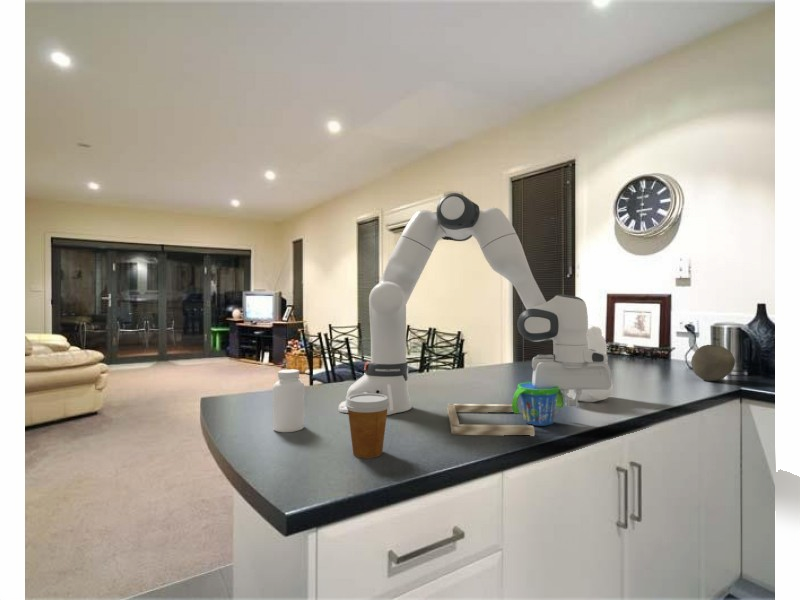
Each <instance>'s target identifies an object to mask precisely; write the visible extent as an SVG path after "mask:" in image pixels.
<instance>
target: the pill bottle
mask: <svg viewBox="0 0 800 600" xmlns="http://www.w3.org/2000/svg"><path fill="white" fill-rule="evenodd" d="M277 379H278V380H277V381H276V382H275V383H274V384H273V386H272V387H273V388H272V428H273V430H274V431H275V432H278V433H293V432H298V431H301V430H303V429H304V427H305V402H306V401H305V396H306V395H305V389H306V388H305V384H304V382H303V381H302V380H300V370H299V369H293V368H291V369H282V370H278V372H277Z"/></svg>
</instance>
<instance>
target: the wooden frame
mask: <svg viewBox="0 0 800 600" xmlns="http://www.w3.org/2000/svg"><path fill="white" fill-rule="evenodd" d="M446 410H447V411H448V412H447V416H448V423H449V426H450V431H451V435H453V436H455V435H456V436H457V435H458V436H465V435H466V436H504V435H530V436H529V437H535V427H534V425H531V424H523V425H522V424H460V421H459V417H458V414H457V413H488V412H513V410H512V403H511V404H505V403H501V404H497V403H494V404H492V403H447V405H446Z"/></svg>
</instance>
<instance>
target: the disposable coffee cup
mask: <svg viewBox="0 0 800 600" xmlns="http://www.w3.org/2000/svg"><path fill="white" fill-rule="evenodd" d="M389 404H390V403H389V402H388V398H387V396H385V395H381V394H357V395H352V396H350V397H348V400H347V403H346V406H347V409H348V420H349V422H348V423H349V429H350V431H349V432H350V439H351V447H352V454H353V456H355V457H357V458H361V459H373V458H377V457H379V456H381V455H383V448H384V440H385V433H386V425H387V424H386V423H387V416H388V415H387V409H388V406H389Z"/></svg>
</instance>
